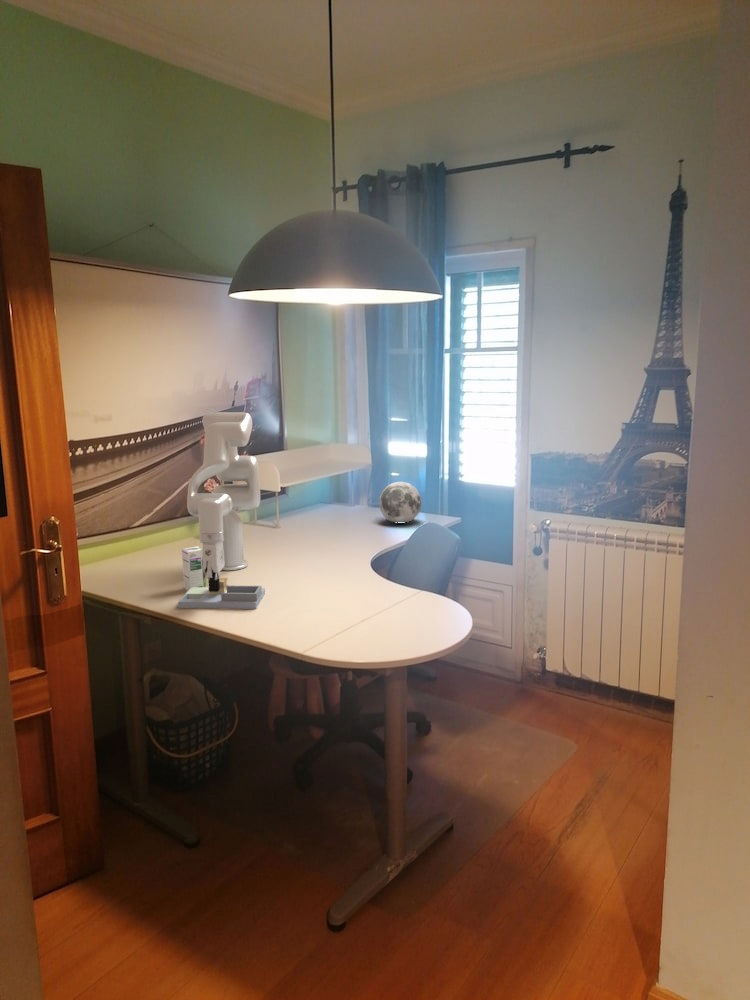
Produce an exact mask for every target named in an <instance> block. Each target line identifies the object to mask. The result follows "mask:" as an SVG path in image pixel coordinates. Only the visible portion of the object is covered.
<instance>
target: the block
mask: <svg viewBox="0 0 750 1000" xmlns="http://www.w3.org/2000/svg"><path fill="white" fill-rule="evenodd" d="M228 582H229V581H228V577H227V576H219V583H220V590H219V591H218V592H210V591H209V593H225V592H226V590H227V585H229V584H228Z"/></svg>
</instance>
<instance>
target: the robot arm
mask: <svg viewBox="0 0 750 1000" xmlns="http://www.w3.org/2000/svg"><path fill="white" fill-rule="evenodd" d="M201 420H202V421H201V422H202V425H203V428H204V447H203V463H202V465H201V466H200V467H199V468H198V469H196V471H195V472H194V473H193V474H192V476H191V479H189V483H188V487H187V497H186V499H187V500H186V506H187V511H188V514H190V515H191V516H194V517H198V529H199V530H198V531H199V542H200V543H201V544H202V550H203V571H204V573H205V574H206V575H207V577H206V578H207V579H208V580H207V581H208V587H209V591H210V592H218V591H219V590H220V583H219V577H220V572H221V571H236V570H237V571H238V570H242V569H244V568H246V567H248V565H249V562H248V561H247V560H246V559H244V539H243V537H244V535H243V534H244V533H243V520H242V518H241V516H240V514H239V513H238V512H237V510H256V509H257V508H259V506H260V504H261V483H260V466H259V462H258V459H257V458H256V457H255V456H253V455H239V451H238V447H240V448H241V447H246V446H247V445H248V443H249V441H250V436H251V434H252V431H253V419H252V416H251V414H250V413H248V412H243V411H240V412H239V411H238V412H237V411H234V412H233V411H232V412H231V411H230V412H229V411H216V412H209V413H205V414H204V415H203V416H202V419H201ZM215 476H216V478H217V480H218V481H220V482H245V483H238V484H237V483H226V484H225V483H224V484H218V485H217V486H215V487H214V489H213V490H212V492H211V493H210V492H206V493H205V492H201V493H198V490H199V487H200V486H201V484H203V483H204V482H205V481H207V480H208V479H210V478H213V477H215Z"/></svg>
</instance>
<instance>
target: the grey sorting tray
mask: <svg viewBox="0 0 750 1000" xmlns="http://www.w3.org/2000/svg"><path fill="white" fill-rule="evenodd" d="M265 594H266V589H265V587H263V586H262V585H229V584H228V585H227V590H226V592H225V593H209V586H208V587H207V586H206V587H191V588H190V589H189V590H188V591H186V592H185V594H184V595H182V597H181V598H180V599H179V600H177V601H178V602H177V605H178V609H236V610H237V609H240V610H241V609H242V610H243V609H246V610H247V609H248V610H253V609H255V610H256V609H257V608H258V606H259V605H260V603H261V601H262V600H263V598H264V596H265Z"/></svg>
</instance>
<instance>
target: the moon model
mask: <svg viewBox="0 0 750 1000" xmlns="http://www.w3.org/2000/svg"><path fill="white" fill-rule="evenodd" d="M378 503H379V504H378V505H379V510H380V513H381V514H382V516H383V517H384V518H385V519H386V520H387V521H389V522H391V523H393V522H397V523H398V522H407V523H410V522H411V521H413V520H414V519H415V518H416V517H417V516H418V515H419V513H420V511H421V509H422V497H421V494H420V491H418V489H417V488H416V487H415V486H414V485H412V484H411V483H409V482H406V481H396V482H391V483H390V484H388V485H387V486H386V487H385V488H384V489H383V490H382V491H381V494H380V496H379V502H378ZM409 521H410V522H409ZM397 523H396V524H397Z"/></svg>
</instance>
